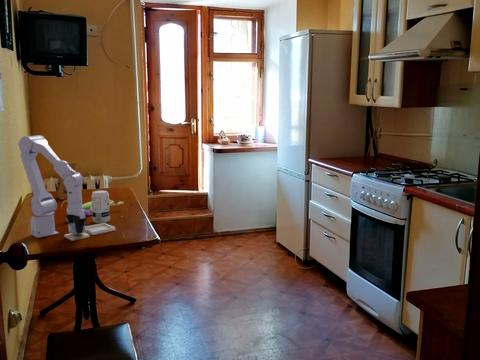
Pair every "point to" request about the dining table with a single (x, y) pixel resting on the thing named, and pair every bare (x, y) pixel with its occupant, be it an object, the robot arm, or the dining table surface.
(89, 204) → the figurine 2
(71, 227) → the pale blue cube
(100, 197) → the supplement can
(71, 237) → the post stand
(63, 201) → the figurine
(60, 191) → the coffee package
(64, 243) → the dining table surface
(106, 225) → the tray
